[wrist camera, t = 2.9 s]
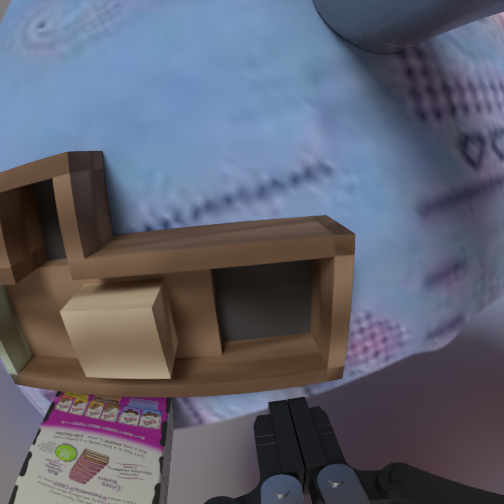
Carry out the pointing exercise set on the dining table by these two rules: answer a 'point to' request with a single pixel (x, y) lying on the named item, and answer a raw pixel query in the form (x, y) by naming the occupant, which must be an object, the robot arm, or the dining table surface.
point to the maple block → (122, 329)
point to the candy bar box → (99, 452)
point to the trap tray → (170, 288)
